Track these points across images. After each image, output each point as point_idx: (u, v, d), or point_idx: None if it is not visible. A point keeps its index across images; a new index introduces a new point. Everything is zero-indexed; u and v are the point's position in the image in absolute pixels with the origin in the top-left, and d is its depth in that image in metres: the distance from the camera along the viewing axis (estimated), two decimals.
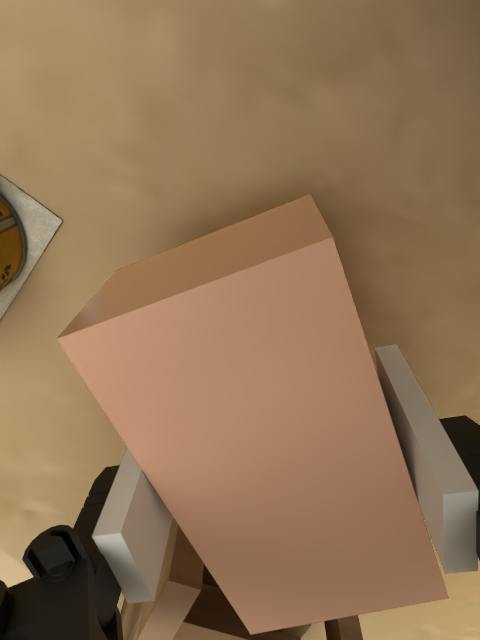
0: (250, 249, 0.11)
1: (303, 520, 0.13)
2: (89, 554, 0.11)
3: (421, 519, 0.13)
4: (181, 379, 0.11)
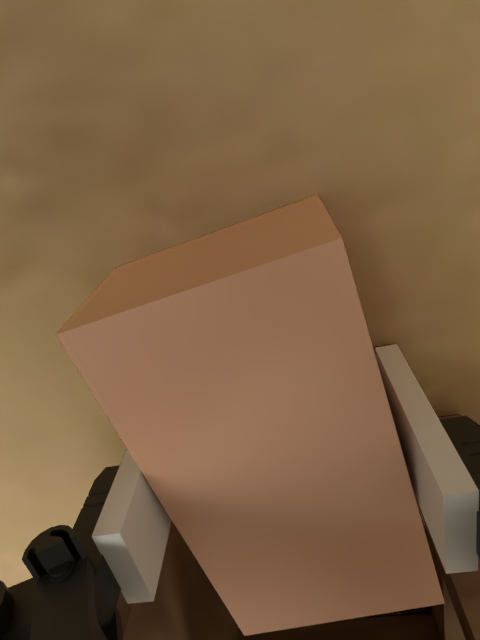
0: (256, 248, 0.11)
1: (301, 524, 0.13)
2: (89, 554, 0.11)
3: (420, 525, 0.13)
4: (182, 379, 0.11)
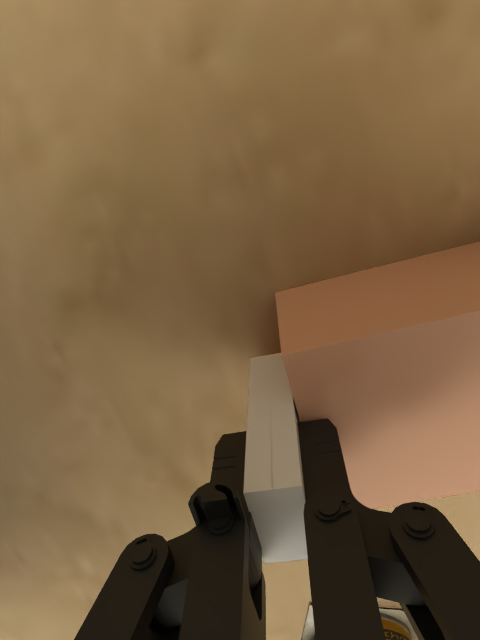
0: None
1: None
2: None
3: None
4: (378, 456, 0.15)
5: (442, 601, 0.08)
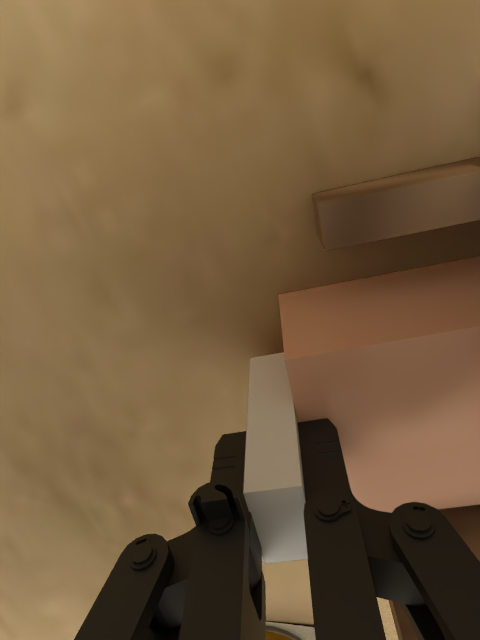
0: None
1: None
2: None
3: None
4: (373, 465, 0.14)
5: (442, 601, 0.08)
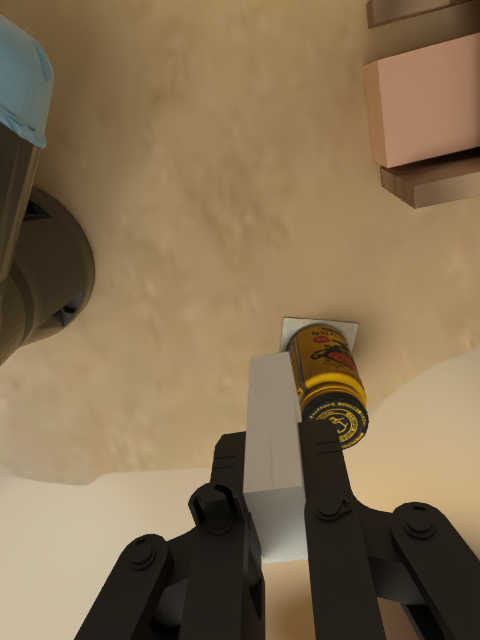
0: (375, 92, 0.31)
1: None
2: None
3: None
4: (415, 125, 0.31)
5: (443, 601, 0.08)
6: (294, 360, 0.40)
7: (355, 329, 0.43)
